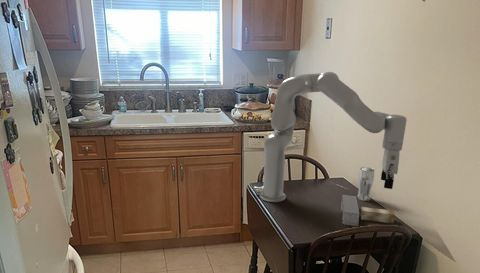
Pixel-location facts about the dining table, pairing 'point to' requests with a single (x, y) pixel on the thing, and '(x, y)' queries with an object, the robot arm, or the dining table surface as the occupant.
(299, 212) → the dining table surface
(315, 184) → the dining table surface
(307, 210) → the dining table surface
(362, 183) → the beer glass
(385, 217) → the bar
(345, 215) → the housing
